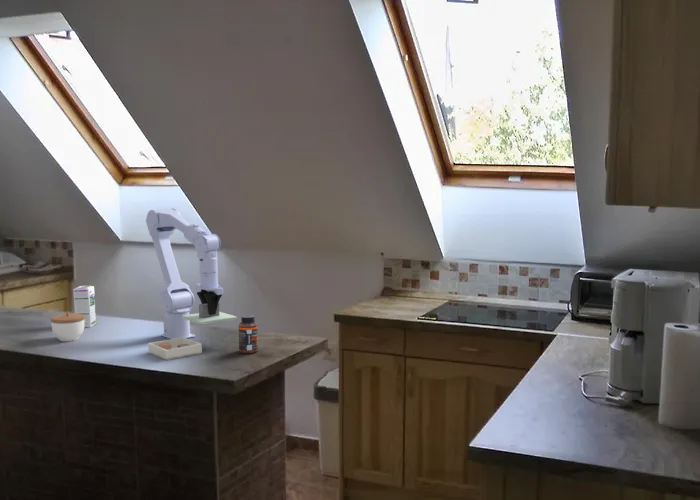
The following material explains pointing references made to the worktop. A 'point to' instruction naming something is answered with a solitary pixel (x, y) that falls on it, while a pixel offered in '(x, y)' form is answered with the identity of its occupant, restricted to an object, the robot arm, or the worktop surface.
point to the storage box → (174, 348)
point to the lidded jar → (68, 326)
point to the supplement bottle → (248, 335)
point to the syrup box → (85, 304)
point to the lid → (208, 316)
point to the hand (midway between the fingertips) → (210, 313)
